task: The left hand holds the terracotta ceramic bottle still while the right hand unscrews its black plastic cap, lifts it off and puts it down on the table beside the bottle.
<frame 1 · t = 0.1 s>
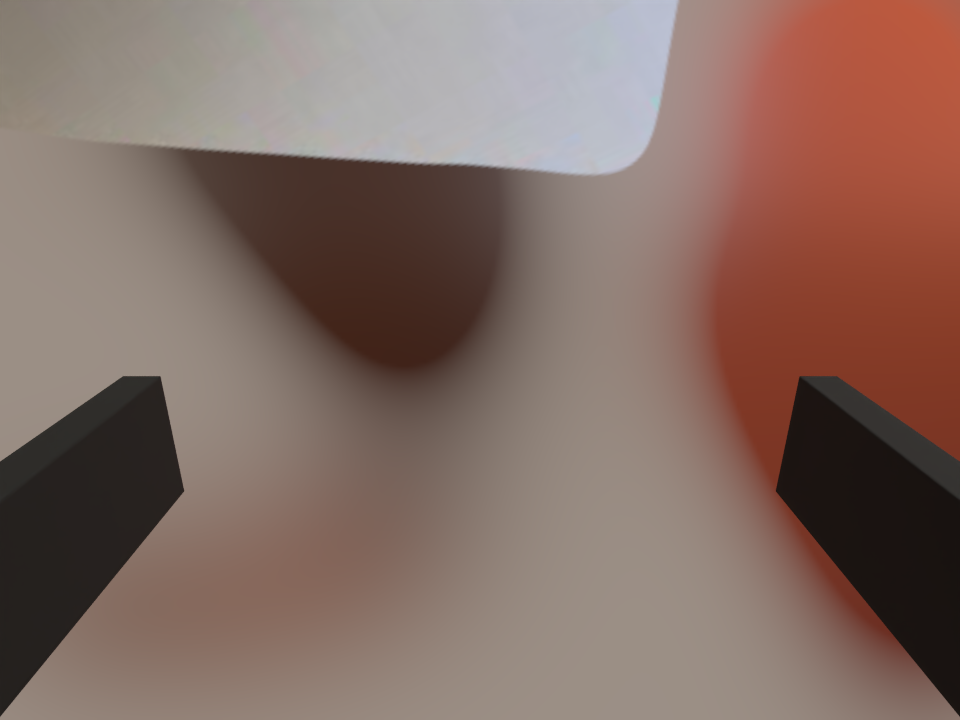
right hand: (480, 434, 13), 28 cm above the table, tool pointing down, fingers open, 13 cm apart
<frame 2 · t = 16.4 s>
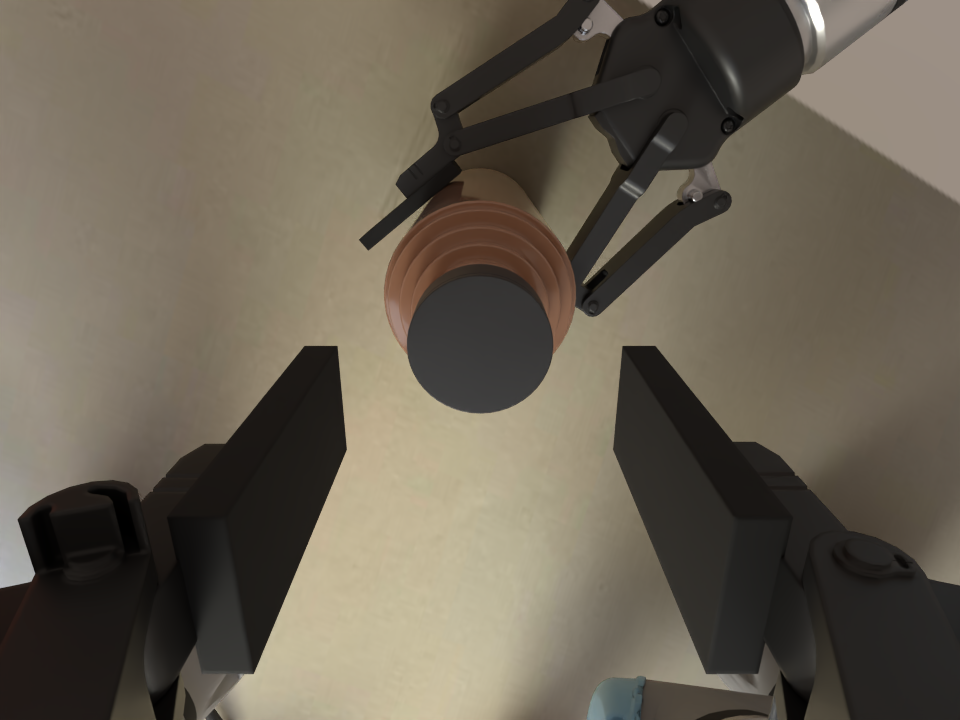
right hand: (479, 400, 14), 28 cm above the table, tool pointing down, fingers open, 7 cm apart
left hand: (414, 294, 35), fingers closed on bottle, 7 cm apart
cap: (480, 344, 18), point 24 cm above the table, screwed on, not yet turned
bottle: (480, 224, 40), on the table, touching left hand
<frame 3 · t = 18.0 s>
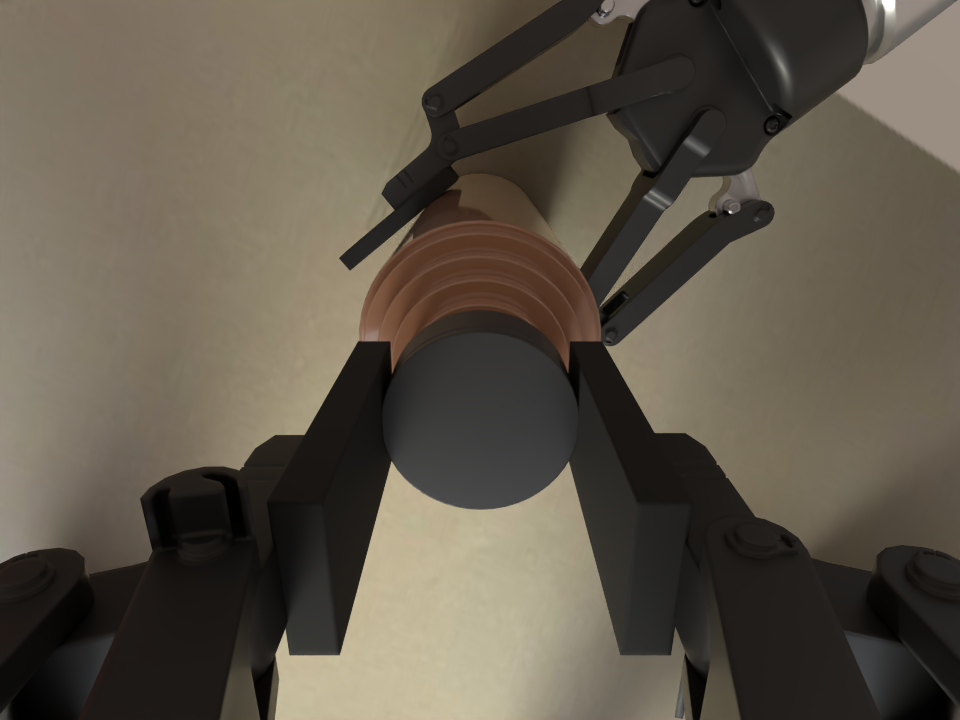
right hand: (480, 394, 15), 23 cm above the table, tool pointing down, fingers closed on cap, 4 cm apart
left hand: (404, 319, 31), fingers closed on bottle, 7 cm apart
cap: (480, 419, 13), point 24 cm above the table, screwed on, not yet turned, touching right hand
bottle: (480, 237, 36), on the table, touching left hand
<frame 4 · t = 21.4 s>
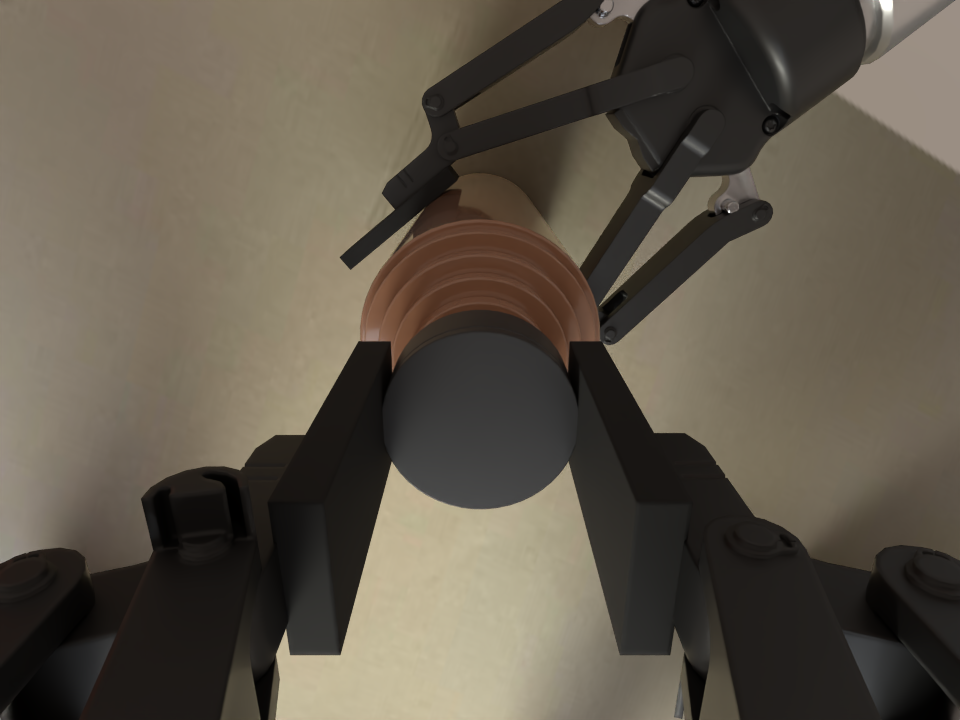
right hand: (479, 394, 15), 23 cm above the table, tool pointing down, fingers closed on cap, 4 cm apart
left hand: (404, 318, 31), fingers closed on bottle, 7 cm apart
cap: (480, 419, 13), point 24 cm above the table, turned 123° so far, risen 0.1 cm, still on its thread, touching right hand
bottle: (480, 236, 36), on the table, touching left hand
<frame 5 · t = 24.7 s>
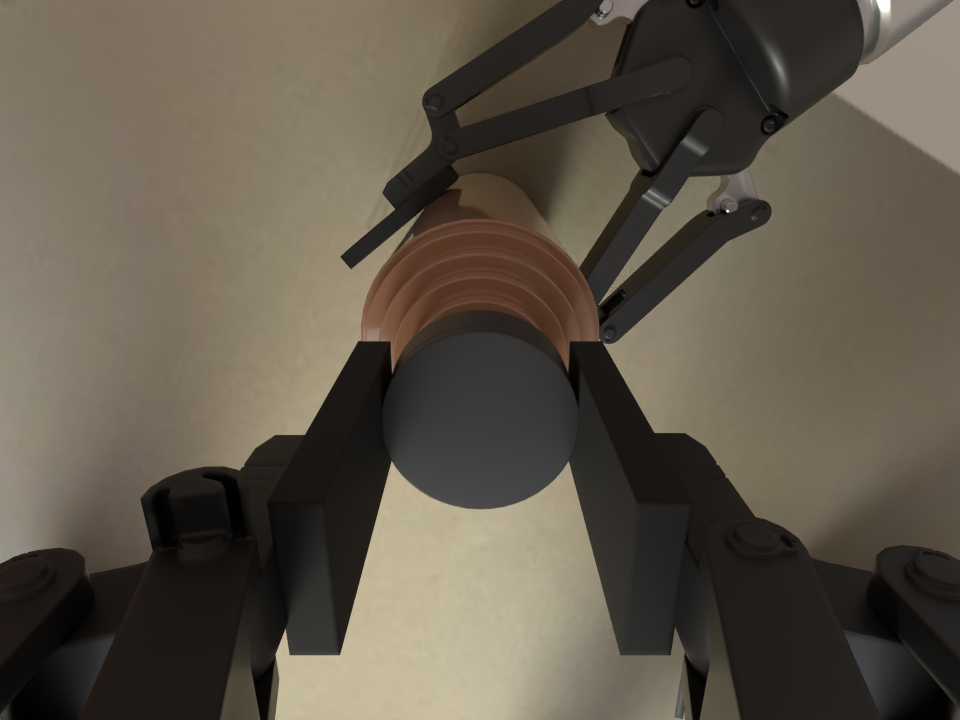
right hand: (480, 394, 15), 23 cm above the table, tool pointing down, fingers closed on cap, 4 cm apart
left hand: (405, 317, 31), fingers closed on bottle, 7 cm apart
cap: (480, 419, 13), point 24 cm above the table, turned 246° so far, risen 0.3 cm, still on its thread, touching right hand
bottle: (480, 236, 36), on the table, touching left hand
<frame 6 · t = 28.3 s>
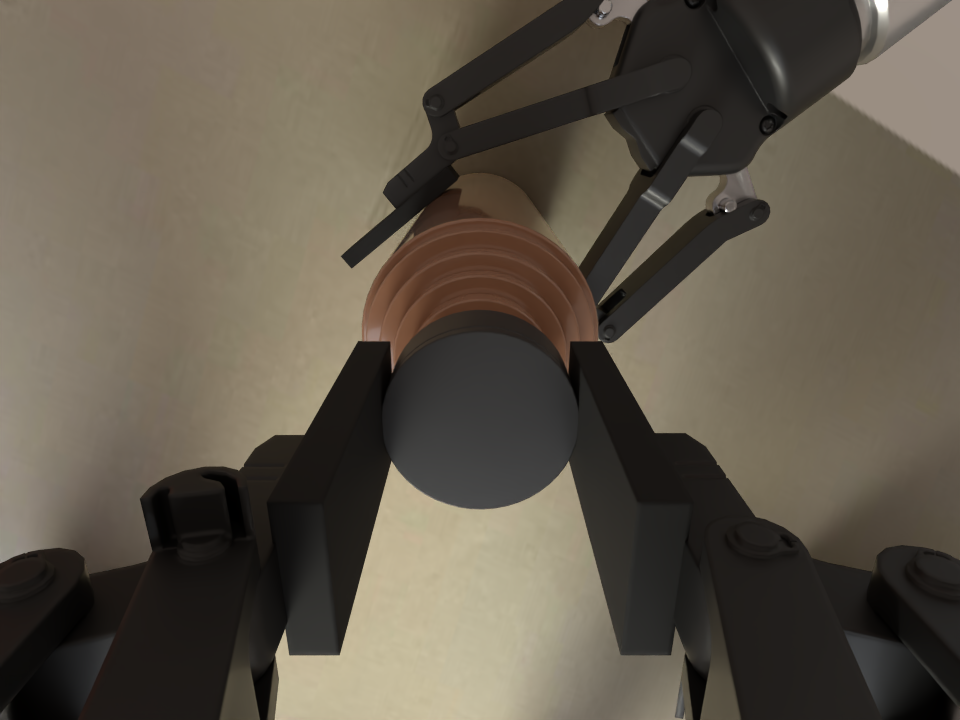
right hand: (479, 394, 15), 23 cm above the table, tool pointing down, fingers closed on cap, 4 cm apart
left hand: (405, 316, 31), fingers closed on bottle, 7 cm apart
cap: (480, 419, 13), point 24 cm above the table, turned 369° so far, risen 0.4 cm, still on its thread, touching right hand
bottle: (480, 235, 36), on the table, touching left hand
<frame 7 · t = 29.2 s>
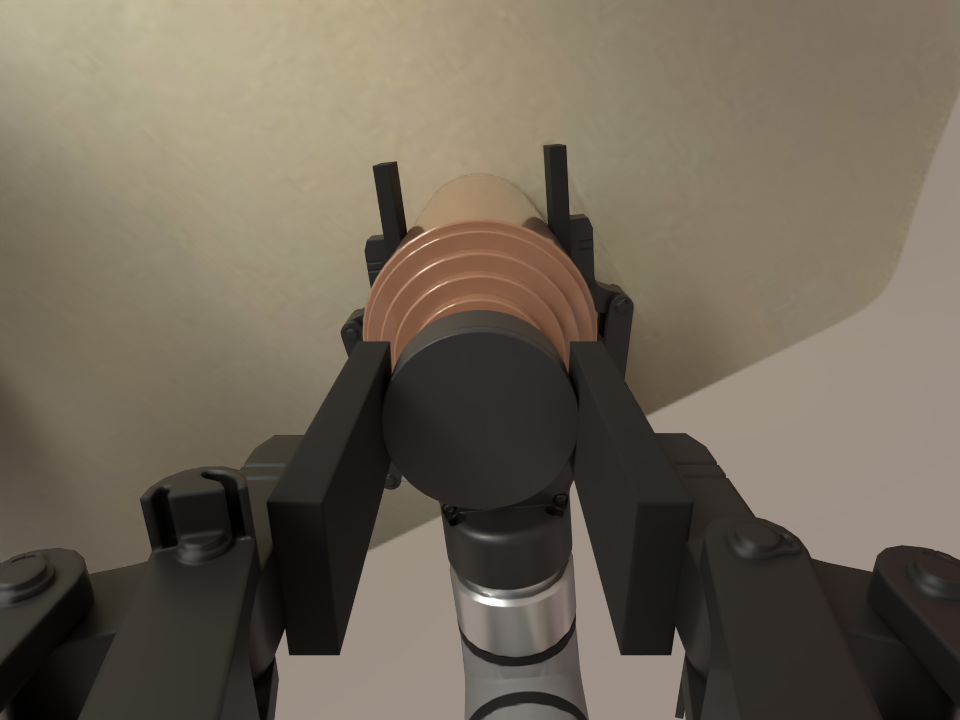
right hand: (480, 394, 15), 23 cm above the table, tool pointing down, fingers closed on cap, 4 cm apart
cap: (480, 419, 13), point 24 cm above the table, off its thread, touching right hand
bottle: (480, 236, 36), on the table, touching left hand
when the right hand's fingers open (1 cm above the table, at t = 35.2 s): cap drops 1 cm, point 1 cm above the table.
when the left hand's fingers open (7 cm above the table, at t = 36.4 s): bottle stays where it is, on the table.
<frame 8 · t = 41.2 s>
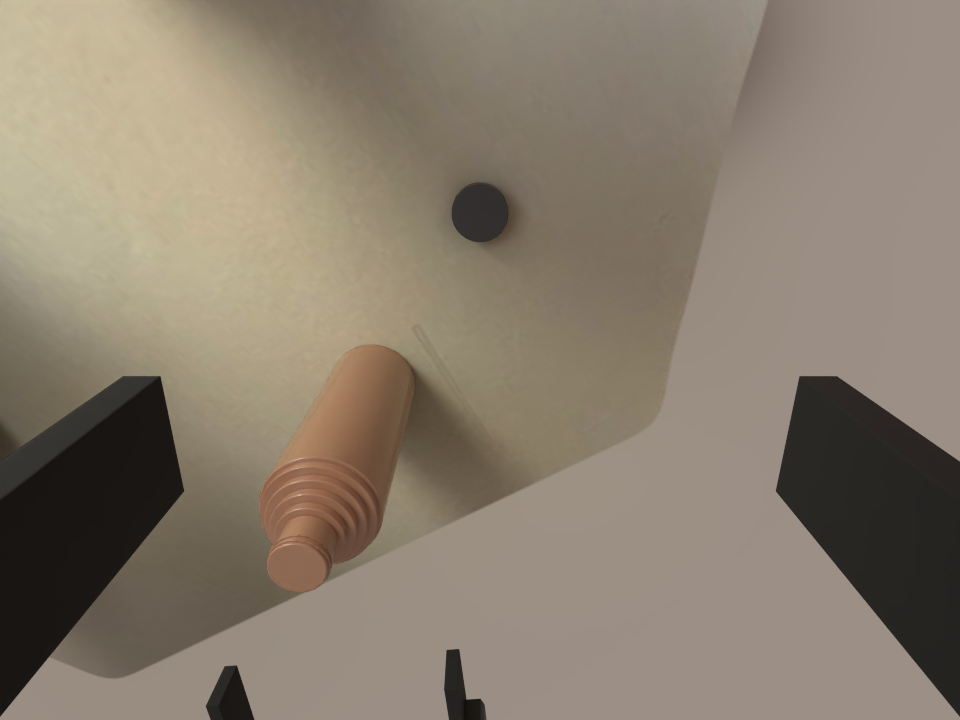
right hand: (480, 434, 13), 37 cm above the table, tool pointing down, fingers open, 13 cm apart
cap: (479, 213, 46), point 1 cm above the table, off its thread
bottle: (374, 383, 53), on the table
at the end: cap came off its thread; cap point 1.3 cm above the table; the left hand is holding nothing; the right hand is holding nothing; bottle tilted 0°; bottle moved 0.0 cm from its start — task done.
